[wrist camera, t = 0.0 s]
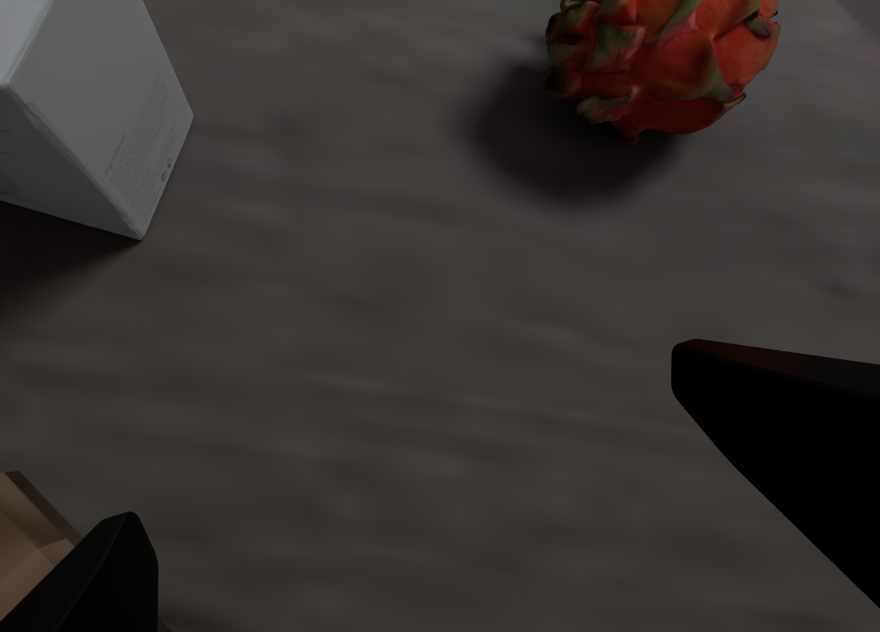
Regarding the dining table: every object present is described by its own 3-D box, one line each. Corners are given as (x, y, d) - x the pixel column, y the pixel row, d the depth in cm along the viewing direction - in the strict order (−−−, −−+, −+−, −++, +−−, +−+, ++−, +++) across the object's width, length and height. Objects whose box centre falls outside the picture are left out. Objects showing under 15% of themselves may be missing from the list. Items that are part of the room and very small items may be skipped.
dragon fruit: (487, 104, 30) (673, 101, 34) (571, 187, 24) (783, 171, 28) (524, -99, 24) (741, -72, 28) (646, -55, 18) (896, -30, 22)
